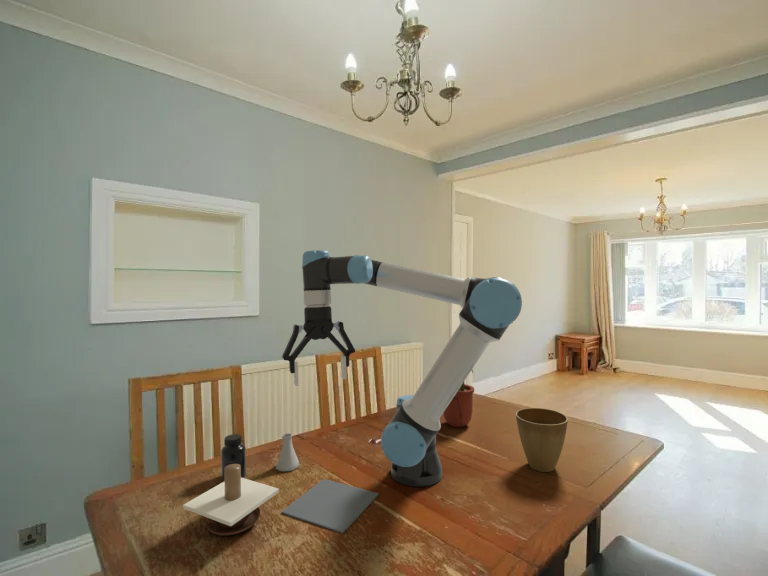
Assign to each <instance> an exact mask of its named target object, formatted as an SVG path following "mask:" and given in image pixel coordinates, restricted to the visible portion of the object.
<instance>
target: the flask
mask: <svg viewBox="0 0 768 576" xmlns="http://www.w3.org/2000/svg"><path fill="white" fill-rule="evenodd" d="M281 438H282V444H281V445H282V446H281V450H280V453H279V457H278V458H277V459H278V460H277V463H276V466H275V470H277V471H279V472H292V471H294V470H295V469H298V468H299V466H300V461H299V457H298V456H297V454H296V451H295V449H294V445H293V440H292V439H293V433H291V432H289V433H288V432H287V433H286V432H285V433H284V434H282V435H281Z"/></svg>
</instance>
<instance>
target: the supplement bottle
mask: <svg viewBox="0 0 768 576" xmlns="http://www.w3.org/2000/svg"><path fill="white" fill-rule="evenodd" d="M242 437H243V436H242V434H239V433H233V434H229V435H226V436H225V437H224V443H223V447H222V448H221V449H220V460H221V462H220V465H221V466H220V467H221V468H220V471H221V479H222V481H223V482H224V481H225V477H224V468H225V467H226V466H228V465H230V464H240V465H241V478H245V477H246V475H247V453H246V452H247V451H246V445H245V444H244V443H243V438H242Z"/></svg>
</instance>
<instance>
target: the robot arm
mask: <svg viewBox="0 0 768 576" xmlns="http://www.w3.org/2000/svg"><path fill="white" fill-rule="evenodd" d="M301 269H302V282H303V305H304V306H305V307H304V309H303V311H304V313H303V314H304V324H303V325H299V324H293V325H292V334H291V336H290V337H289V340H288V342H287V344H286V347H285V349H284V351H283V353H282V356H281V358H282V359H283V360H284V361H288V362H289V364H288V366H289V372H290V374H293V384H294V385H295V387H297V386H299V368H298V367H299V365H298V364H299V362H298V361H297V360H296V359H297V358H298V357H299V355H300V354H301V352H302V351H303V350H304V348H305V347H306V346H307V345H308V343H310V341H311V340H314V341H317V340H325V339H329V341H331V342H332V344H334V346H335V347H336V348H337V349H338V350H339V351H340V352H341V353H342V354H341V355H340V372H341V373H340V374H341V375H340V377H341V379H343V380H347V378H348V377H347V376H348V375H347V368H349V367H350V355H352V354H354V353H355V352H356V349H355V347H354V345H353V343H352V341H351V340H350V338H349V336H348V335H347V332H346V331H345V329H344V327H345V326H344V322H342V321H339V320H338V321H337V322H333V318H332V317H333V316H332V315H333V314H332V307H331V306H330V305H331V304H332V295H331V294H332V293H331V292H332V291H331V289H332V288H331V285H340V284H341V285H344V284H345V285H346V284H347V285H348V284H349V285H350V284H356V285H357V284H358V285H360V284H364V285H369V286H373V287H378V288H384V289H388V290H391V291H396V292H402V293H404V294H405V293H406V294H409V295H412V296H413V295H414V296H418V297H423V298H427V299H432V300H436V301H441V302H446V303H449V304H454V305H457V306H460V307H461V308H462V309H461V310H460V312H459V314H458V318H459V325H458V326H457V328H456V329H455V331H454V332H453V334H452V336H451V337H450V339H449V340H448V341H447V344H446V345H445V346H444V348H443V350H442V351H441V353H440V354H439V356H438V357H437V359H436V361H435V362H434V364H433V365H432V366H431V368H430V370H429V371H428V373H427V374H426V376H425V378H423V380H422V382H421V384H420V385H419V387H418V388H417V390H416V392H415V393H414V394H412V395H411V394H410V395H401V396H398V398H397V399H396V404H395V406H396V412H395V413H394V415H393V417H392V418H391V420H390V421H389V423H388V424H387V425H386V426H385V427H384V428H383V430H382V434H381V439H380V444H381V445H380V446H381V449H382V452H383V455H384V456H385V457H386V458H387V460H389V461H390V462H391V466H390V468H391V469H390V471H391V472H390V474H391V477H392V479H393V480H395V481H396V482H398V483H399V484H402V485H405V486H407V487H408V486H409V487H417V488H419V487H420V488H421V487H422V488H424V487H429V486H432V485H435V484H436V483H438V482H440V480H442V478H443V467H442V462H441V460H440V457H439V454H438V450H437V434H438V433H439V431H440V429H441V427H442V425H441V420H440V418H441V417H442V415H444V413H443V412H444V411H445V409H446V408H447V406H448V405H449V403H450V402H451V400H452V399H453V397H454V396H455V394H456V393H457V391H458V390H459V388H460V387H461V385H462V384H463V382H464V383H465V381H466V379H467V378H468V376H469V375H470V373H472V371H471V370H472V369H473V370H474V367H475V366H476V364H477V363H478V361H479V359H480V358H482V355H483V354H484V352H485V350H486V349H487V348H488V346H490V345H489V344H490V343H493V342H498V341H500V340H501V338H502V336H503V335H504V333H505V332H506V331H507V329H508V328H509V326H510V325H512V324H513V323H514V322H515V321H516V320H517V318H519V316H520V313H521V311H522V306H523V300H522V295H521V293H520V291H519V289H518V287H517V286H516V285H515V284H514V283H512V282H511V281H510V280H508V279H505V278H504V277H497V276H496V277H495V276H494V277H493V276H492V277H489V278H488V277H487V278H480V277H474V276H469V277H467V278H462V277H458V276H452V275H447V274H443V273H438V272H434V271H433V272H432V271H427V270H423V269H418V268H413V267H408V266H403V265H399V264H398V265H397V264H393V263H389V262H385V261H384V262H383V261H379V260H374V259H371V258H370V256H368V255H360V254H359V255H358V254H356V255H347V256H346V255H345V256H335V257H334V256H333V257H332V256H330V252H329V251H328V250H323V249H322V250H320V249H319V250H318V249H317V250H307V251H306V250H305V251H304V252H303V254H302V266H301ZM333 329H335V330H337V331H338V333H339V336H340V337H341V338H342V341H343V342H344V344H345V346H346V348H347V349H346V348H345V346H344V345H343V344H342V343H341V342H340V341H339V340H338V339H337V338H336V337H335V335H334V334H333V333H332V331H333ZM302 331H304V332H305V333H306V334H305V335H304V336H303V339H302V340H301V341H300V342H299V344H298V345H297V346H296V348H295V349H294V350H293V347H294V345H295V344H296V342H297V341H296V340H297V339H298V336H299V334H301V333H302ZM292 350H293V351H292ZM291 352H292V353H291Z"/></svg>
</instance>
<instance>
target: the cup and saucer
mask: <svg viewBox="0 0 768 576" xmlns="http://www.w3.org/2000/svg"><path fill="white" fill-rule="evenodd" d="M260 515H261V510H260V507H257V508H256V509H255V510H253V511H252V512H250V513H249V514H248V515H246V516H245V517H243V518H242V519H241V520H239V521H238V522H236V523H235V524H234V525H232V526H228V525H226V524H223V523H220V522H218V521H215V520H212V519H210V518H207V517H205V521H206V522H205V525H206V529H207V530H208V531H209V532H210V533H213V534H215V535H217V536H233V535H237V534H240V533H243V532H245V531H247V530H248V529H250V528H251V527H252V526H254V525H255V524H256V523H257V522H258V520H259V518H260Z"/></svg>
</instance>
